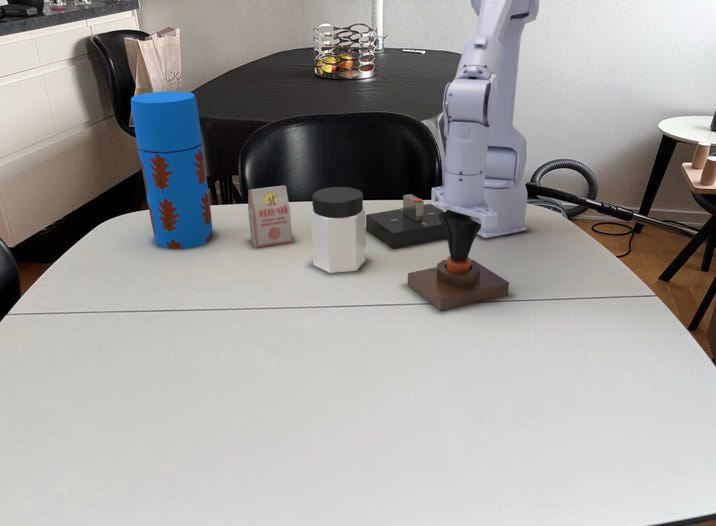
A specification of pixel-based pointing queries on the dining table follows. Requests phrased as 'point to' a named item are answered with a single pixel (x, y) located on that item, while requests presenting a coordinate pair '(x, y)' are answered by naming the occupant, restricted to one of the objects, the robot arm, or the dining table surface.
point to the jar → (338, 229)
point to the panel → (406, 227)
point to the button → (458, 265)
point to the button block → (457, 285)
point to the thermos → (173, 167)
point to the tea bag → (269, 216)
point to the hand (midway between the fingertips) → (459, 259)
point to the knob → (413, 207)
